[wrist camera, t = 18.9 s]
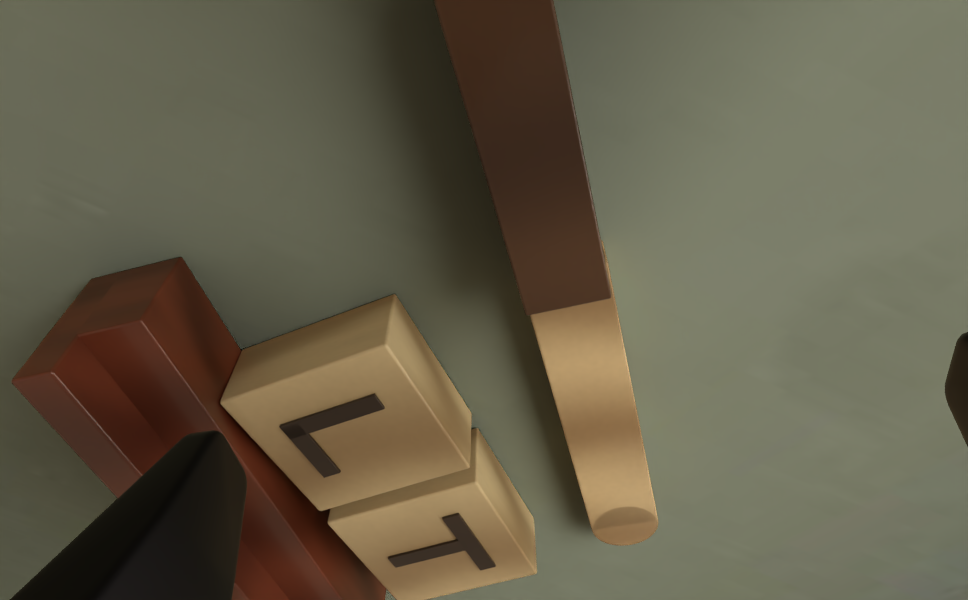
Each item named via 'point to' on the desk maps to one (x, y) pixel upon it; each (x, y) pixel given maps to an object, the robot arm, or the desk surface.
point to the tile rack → (179, 420)
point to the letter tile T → (443, 531)
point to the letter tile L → (351, 405)
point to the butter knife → (554, 244)
